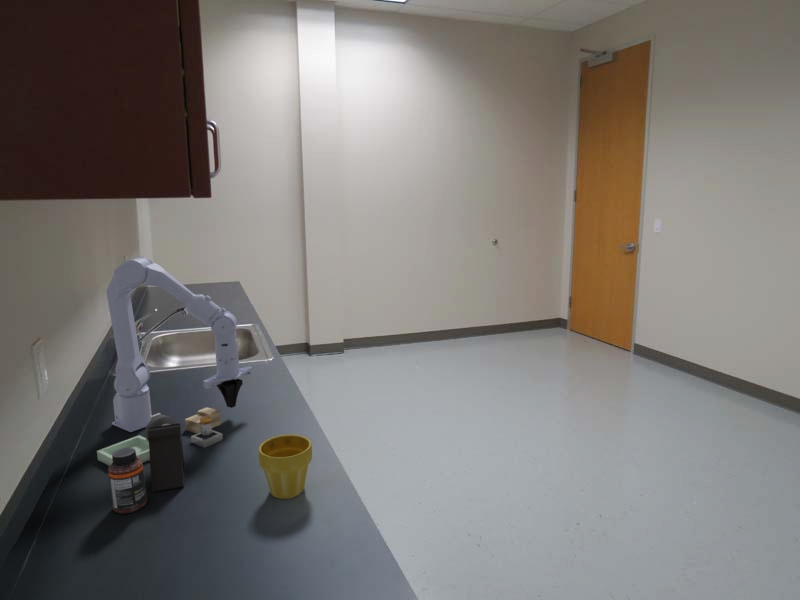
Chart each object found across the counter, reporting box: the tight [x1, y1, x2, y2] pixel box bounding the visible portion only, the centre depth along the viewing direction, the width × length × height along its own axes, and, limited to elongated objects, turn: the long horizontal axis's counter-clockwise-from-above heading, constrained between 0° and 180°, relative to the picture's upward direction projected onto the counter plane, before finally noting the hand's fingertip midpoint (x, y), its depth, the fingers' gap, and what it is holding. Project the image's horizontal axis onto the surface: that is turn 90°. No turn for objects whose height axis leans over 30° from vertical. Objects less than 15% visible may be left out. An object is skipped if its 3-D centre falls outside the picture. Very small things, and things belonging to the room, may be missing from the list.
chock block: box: [184, 407, 222, 434], centre depth 140 cm, size 5×7×4 cm
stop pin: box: [200, 416, 213, 440], centre depth 131 cm, size 2×2×6 cm
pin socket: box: [190, 429, 224, 448], centre depth 131 cm, size 5×5×2 cm
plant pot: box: [258, 434, 313, 500], centre depth 108 cm, size 10×10×10 cm
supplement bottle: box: [107, 447, 148, 514], centre depth 103 cm, size 6×6×11 cm
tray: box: [96, 434, 150, 467], centre depth 124 cm, size 10×10×2 cm
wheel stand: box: [144, 412, 178, 440], centre depth 130 cm, size 5×7×7 cm
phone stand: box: [148, 423, 186, 494], centre depth 112 cm, size 9×6×12 cm, turn 19°
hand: (231, 406), depth 146 cm, fingers closed
